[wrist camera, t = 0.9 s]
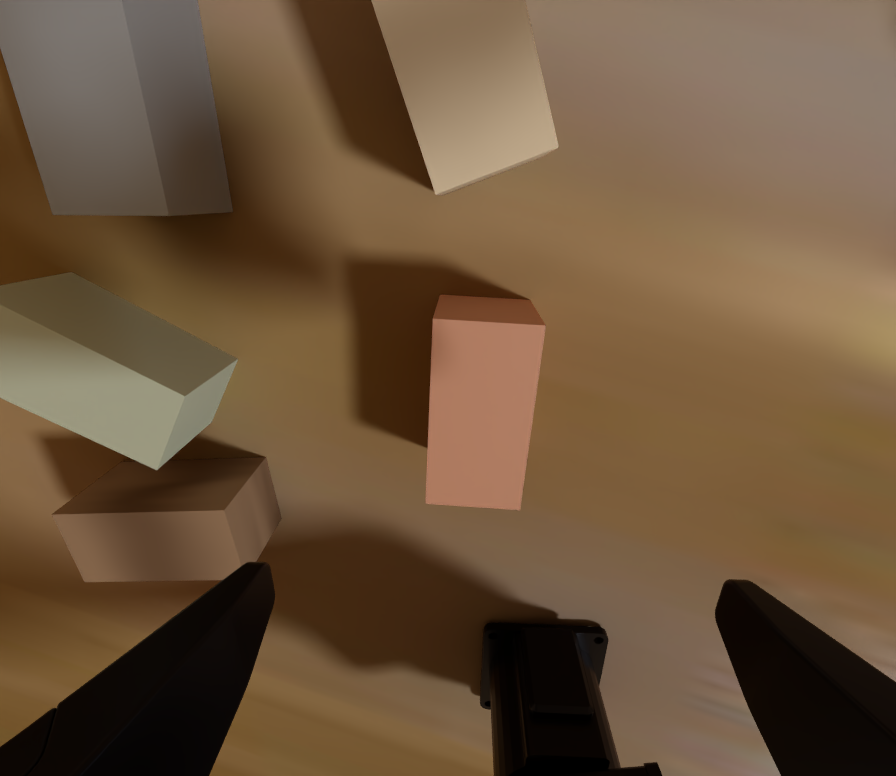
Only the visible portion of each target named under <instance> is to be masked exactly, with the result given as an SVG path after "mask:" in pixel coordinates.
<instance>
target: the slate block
mask: <svg viewBox="0 0 896 776" xmlns="http://www.w3.org/2000/svg"><path fill="white" fill-rule="evenodd" d="M0 49H1V52H2V55H3V58H4V61H5V65H6V68H7V71H8V74H9V77H10V81H11V84H12V87H13V90H14V93H15V96H16V100H17V103H18V106H19V109H20V112H21V116H22V119H23V122H24V125H25V128H26V131H27V135H28V138H29V141H30V144H31V147H32V151H33V154H34V157H35V160H36V163H37V166H38V170H39V173H40V176H41V179H42V182H43V186H44V189H45V192H46V195H47V198H48V201H49V205H50V208H51V211H52V214H53V215H116V216H176V215H193V214H210V213H227V212H233V208H232V202H231V196H230V190H229V184H228V178H227V173H226V167H225V161H224V155H223V149H222V143H221V137H220V131H219V125H218V119H217V113H216V107H215V101H214V95H213V89H212V83H211V77H210V72H209V66H208V60H207V54H206V48H205V42H204V36H203V30H202V24H201V18H200V12H199V6H198V0H0Z"/></svg>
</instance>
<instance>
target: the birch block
mask: <svg viewBox="0 0 896 776" xmlns="http://www.w3.org/2000/svg"><path fill="white" fill-rule="evenodd" d="M371 1H372V4H373V7H374V10H375V13H376V16H377V19H378V22H379V25H380V28H381V31H382V34H383V37H384V40H385V43H386V46H387V49H388V52H389V55H390V58H391V61H392V65H393V68H394V71H395V74H396V77H397V80H398V83H399V86H400V89H401V92H402V95H403V98H404V101H405V104H406V107H407V110H408V113H409V116H410V119H411V122H412V125H413V128H414V131H415V134H416V137H417V140H418V143H419V146H420V149H421V152H422V155H423V158H424V161H425V164H426V167H427V170H428V173H429V176H430V179H431V182H432V185H433V188H434V191H435V194H436V195H445V194H448V193H451V192H453V191H456V190H459V189H461V188H464V187H466V186H469V185H472V184H474V183H477V182H479V181H482V180H485V179H487V178H490V177H493V176H495V175H498V174H500V173H503V172H506V171H508V170H511V169H513V168H516V167H519V166H521V165H524V164H527V163H529V162H532V161H534V160H537V159H539V158H541V157H543V156H544V155H546V154H548V153H550V152H551V151H553V150H555V149H556V148H558V147H559V146H558V142H557V137H556V133H555V129H554V124H553V120H552V115H551V111H550V107H549V102H548V98H547V94H546V89H545V85H544V80H543V76H542V72H541V67H540V63H539V59H538V54H537V50H536V45H535V41H534V37H533V32H532V28H531V24H530V19H529V15H528V10H527V6H526V2H525V0H371Z"/></svg>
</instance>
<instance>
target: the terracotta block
mask: <svg viewBox="0 0 896 776" xmlns="http://www.w3.org/2000/svg"><path fill="white" fill-rule="evenodd" d="M545 327H546V325H545V323H544V322H543V320H542V319H541V317H540V315H539V314H538V312H537V310H536V309H535V307H534V305H533V304H532V302H531V301H530V300H524V299H507V298H491V297H474V296H457V295H440V296H439V300H438V303H437V306H436V310H435V313H434V316H433V325H432V351H431V377H430V402H429V428H428V453H427V479H426V504H438V505H452V506H467V507H481V508H496V509H511V510H520V507H521V499H522V492H523V485H524V478H525V471H526V464H527V456H528V449H529V442H530V435H531V428H532V421H533V413H534V406H535V399H536V392H537V385H538V378H539V370H540V363H541V356H542V349H543V342H544V335H545Z"/></svg>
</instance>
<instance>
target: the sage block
mask: <svg viewBox="0 0 896 776" xmlns="http://www.w3.org/2000/svg"><path fill="white" fill-rule="evenodd" d="M237 360H238V359H237V358H235V357H233V356H232V355H230V354H228V353H226V352H224V351H222V350H220V349H218V348H216V347H214V346H212V345H210V344H209V343H207V342H205V341H203V340H201V339H199V338H197V337H195V336H193V335H191V334H189V333H187V332H186V331H184V330H182V329H180V328H178V327H176V326H174V325H172V324H170V323H168V322H166V321H165V320H163V319H161V318H159V317H157V316H155V315H153V314H151V313H149V312H147V311H145V310H143V309H142V308H140V307H138V306H136V305H134V304H132V303H130V302H128V301H126V300H124V299H122V298H121V297H119V296H117V295H115V294H113V293H111V292H109V291H107V290H105V289H103V288H101V287H99V286H98V285H96V284H94V283H92V282H90V281H88V280H86V279H84V278H82V277H80V276H78V275H77V274H75V273H73V272H68V273H63V274H58V275H52V276H47V277H42V278H37V279H31V280H26V281H21V282H15V283H10V284H5V285H0V398H2V399H4V400H6V401H8V402H11V403H13V404H15V405H17V406H19V407H21V408H23V409H26V410H28V411H30V412H32V413H34V414H36V415H39V416H41V417H43V418H45V419H47V420H49V421H51V422H54V423H56V424H58V425H60V426H62V427H64V428H67V429H69V430H71V431H73V432H75V433H77V434H80V435H82V436H84V437H86V438H88V439H90V440H92V441H95V442H97V443H99V444H101V445H103V446H105V447H108V448H110V449H112V450H114V451H116V452H118V453H121V454H123V455H125V456H127V457H129V458H131V459H133V460H136V461H138V462H140V463H142V464H144V465H146V466H149V467H151V468H153V469H155V470H158V469H159V468H160V467H161V466H162V465H163V464H165V463H166V462H167V461H168V460H169V459H170V458H171V457H173V456H174V455H175V454H176V453H177V452H178V451H179V450H180V449H182V448H183V447H184V446H185V445H186V444H187V443H188V442H190V441H191V440H192V439H193V438H194V437H195V436H196V435H198V434H199V433H200V432H201V431H202V430H203V429H204V428H206V427H207V426H208V425H209V424H210V423H211V422H212V420H213V417H214V415H215V413H216V410H217V408H218V406H219V403H220V401H221V398H222V396H223V394H224V391H225V389H226V387H227V384H228V382H229V379H230V377H231V375H232V372H233V370H234V368H235V365H236V363H237Z"/></svg>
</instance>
